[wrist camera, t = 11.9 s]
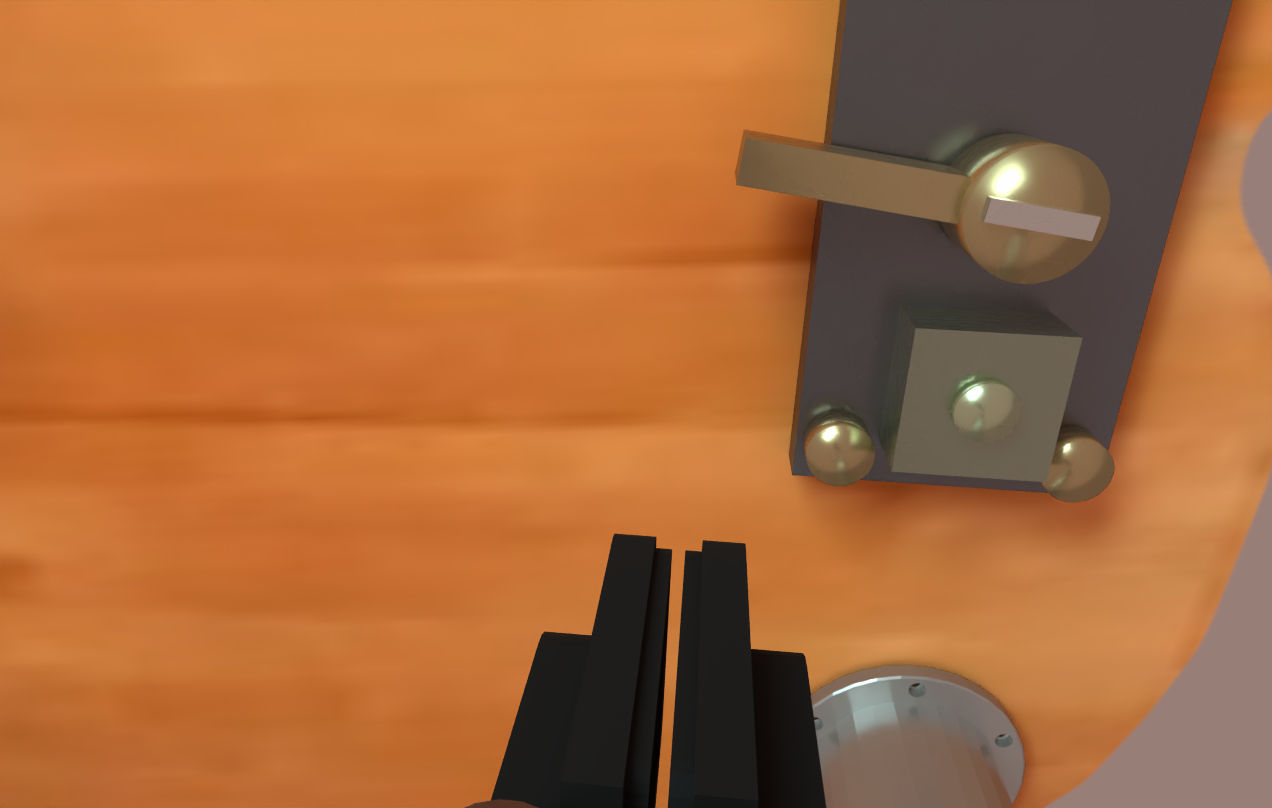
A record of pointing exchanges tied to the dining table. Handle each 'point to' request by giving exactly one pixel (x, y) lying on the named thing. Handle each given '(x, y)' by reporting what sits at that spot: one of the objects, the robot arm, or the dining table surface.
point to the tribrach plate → (955, 283)
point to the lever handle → (956, 195)
